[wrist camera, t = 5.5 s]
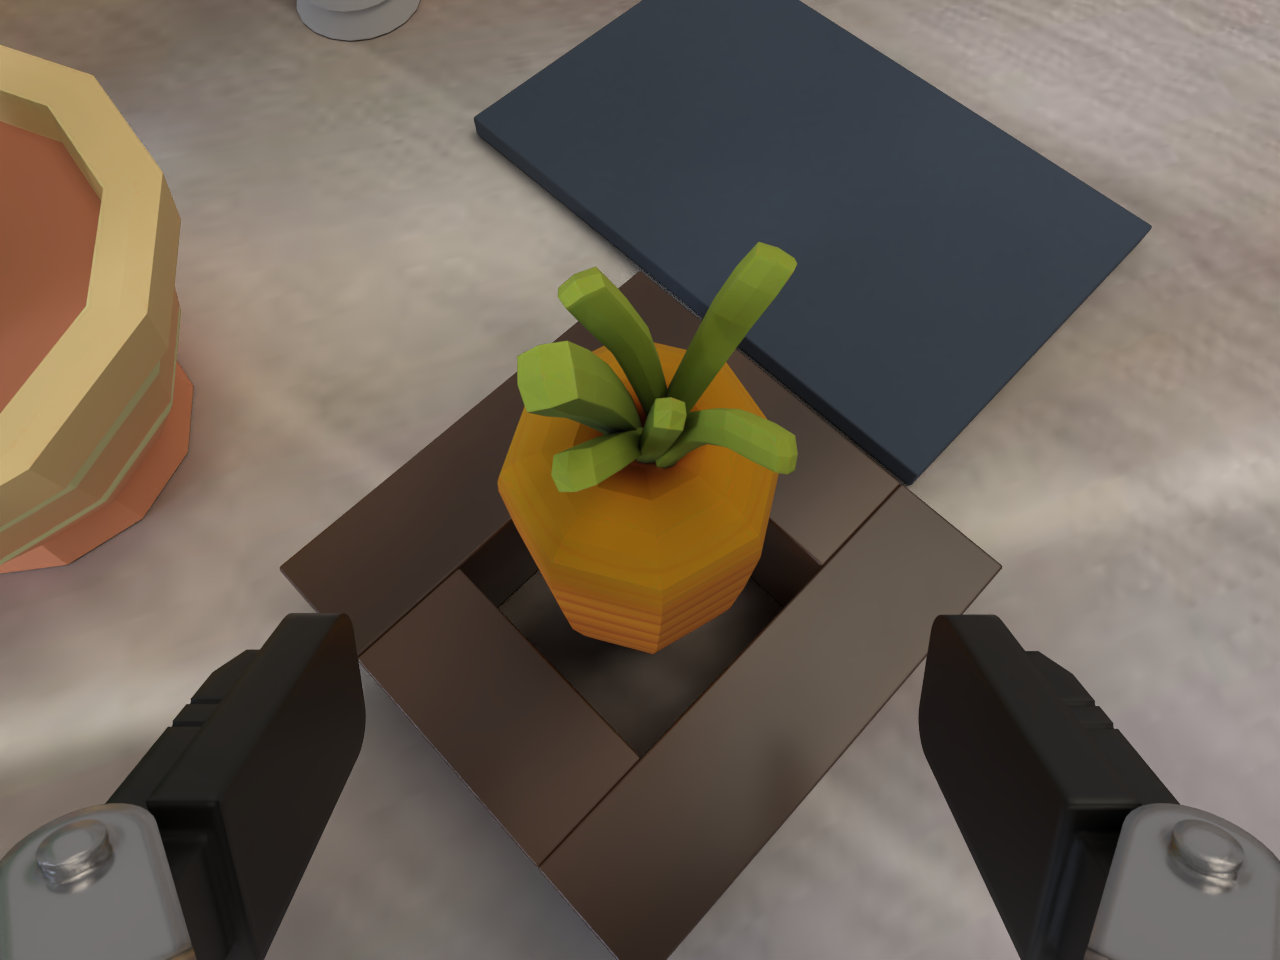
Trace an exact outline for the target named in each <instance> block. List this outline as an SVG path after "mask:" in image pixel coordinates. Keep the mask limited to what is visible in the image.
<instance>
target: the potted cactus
mask: <svg viewBox="0 0 1280 960" xmlns="http://www.w3.org/2000/svg"><path fill="white" fill-rule="evenodd" d="M180 223H181V219H180V216H179V213H178V211H177V208H176V206H175V203H174V200H173V198H172V195H171V193H170V190H169V187H168V185H167V182H166V180H165V177H164V174H163V172H162V171H161V169H160V168H159V167H158V165H157V164H156V162H155V161H154V160H153V158H152V157H151V155H150V154H149V153H148V151H147V150H146V148H145V147H144V146H143V144H142V143H141V141H140V140H139V139H138V137H137V136H136V134H135V133H134V132H133V130H132V129H131V127H130V126H129V125H128V123H127V122H126V121H125V119H124V118H123V116H122V115H121V114H120V112H119V111H118V109H117V108H116V107H115V105H114V104H113V102H112V101H111V100H110V98H109V97H108V95H107V94H106V93H105V91H104V90H103V88H102V87H101V86H100V84H99V83H98V81H97V80H96V79H95V77H94V76H93V75H90V74H87V73H84V72H81V71H78V70H75V69H72V68H69V67H66V66H63V65H60V64H57V63H54V62H51V61H48V60H45V59H42V58H39V57H36V56H33V55H29V54H26V53H23V52H20V51H17V50H14V49H11V48H8V47H5V46H2V45H0V574H1V573H9V572H16V571H24V570H32V569H40V568H47V567H55V566H63V565H68V564H70V563H71V562H73V561H74V560H76V559H78V558H79V557H81V556H83V555H84V554H86V553H87V552H89V551H91V550H92V549H94V548H96V547H97V546H99V545H100V544H102V543H104V542H105V541H107V540H108V539H110V538H112V537H113V536H115V535H117V534H118V533H120V532H121V531H123V530H125V529H126V528H128V527H129V526H131V525H133V524H134V523H136V522H138V521H139V520H141V519H142V518H143V517H144V516H145V514H146V513H147V511H148V510H149V508H150V507H151V506H152V504H153V503H154V501H155V500H156V498H157V497H158V495H159V494H160V492H161V491H162V489H163V488H164V486H165V485H166V484H167V482H168V481H169V479H170V478H171V476H172V475H173V473H174V472H175V470H176V469H177V467H178V466H179V465H180V463H181V462H182V460H183V459H184V457H185V456H186V454H187V453H188V447H189V434H190V422H191V410H192V398H193V384H192V383H191V381H190V380H189V378H188V377H187V375H186V374H185V372H184V371H183V369H182V368H181V366H180V364H179V363H178V361H177V360H176V359H177V348H178V338H179V327H180V316H181V310H180V306H179V302H178V298H177V294H176V290H175V275H176V264H177V254H178V244H179V233H180Z"/></svg>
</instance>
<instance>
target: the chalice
mask: <svg viewBox="0 0 1280 960" xmlns="http://www.w3.org/2000/svg"><path fill="white" fill-rule="evenodd" d="M419 2H420V0H297V11H298V13H299V15H300V17H301V20H302V22H303V23H305V24H306V25H307V26H308V27H309V28H310V29H312V30H313V31H314V32H316V33H318V34H321V35H324V36H326V37H329V38H331V39H340V40H349V41H352V40H361V39H370V38H374V37H377V36H379V35H382V34H385V33H388V32H391V31H392V30H394V29H395V28H397V27H398V26H400V25H402V24H403V23H405V22H406V21H407V20H408V19H409V18H410V16H411V15H412V14H413V13H414V12H415V11H416V10H417V7H418V5H419Z"/></svg>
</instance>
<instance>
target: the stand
mask: <svg viewBox="0 0 1280 960" xmlns="http://www.w3.org/2000/svg"><path fill="white" fill-rule="evenodd" d="M618 289H619V290H620V292H621V293H622V294H623V295H624V296H625V297H626V298H627V300H628V301H629V302H630V304H631V305H632V306H633V308H634V309H635V310H636V312H637V313H638V314H639V316H640V317H641V318H642V320H643V321H644V322H645V324H646V325H647V326H648V328H649V331H650V334H651V336H652V339H653V342H654V343H658V344H663V345H667V346H672V347H676V348H680V349H685V350H687V349H688V347H689V345H690V343H691V341H692V339H693V338H694V336H695V334H696V332H697V330H698V328H699V326H700V324H701V322H702V321H701V320H700V319H698V318H697V317H696V316H695V315H694V314H692V313H691V312H690V311H689V310H687V309H686V308H685V307H684V306H683V305H681V304H680V303H679V302H678V301H676V300H675V299H674V298H673V297H672V296H670V295H669V294H668V293H667V292H665V291H664V290H663V289H662V288H660V287H659V286H658V285H657V284H656V283H654V282H653V281H652V280H651V279H649V278H648V277H647V276H646V275H645V274H643V273H642V272H638V273H637V274H635V275H634V276H633V277H632V278H631V279H629V280H628V281H627V282H626V283H624V284H623V285H622V286H621V287H620V288H618ZM562 341H569V342H572V343H574V344H576V345H579V346H581V347H583V348H586V349H588V350H590V351H591V352H592V351H594V350H596V349H598V348H600V347H603V346H604V345H603V344H602V343H601V342H600V341H599V340H598V339H596V338H595V337H594V336H593V335H592V334H591V333H590V332H589V331H588V330H587V329H586V328H585V327H584V326H583V325H582V324H581V323H580V322H579V321H578V322H577V323H576V324H575V325H573V326H572V327H571V328H570V329H569V330H567V331H566V332H565V333H564V334H562V335H561V336H560V337H559V338H558V339H556V340H555V341H554V342H553V343H556V342H562ZM726 363H727V364H728V365H729V367H730V368H731V370H732V371H733V372H734V374H735V375H736V376H737V378H738V379H739V381H740V382H741V383H742V385H743V386H744V388H745V389H746V390H747V392H748V393H749V395H750V396H751V397H752V399H753V400H754V402H755V403H756V404H757V406H758V407H759V409H760V410H761V411H762V413H763V414H764V415H765V417H766V418H767V420H769V421H771V422H774V423H776V424H778V425H779V426H781V427H783V428H784V429H786V430H787V431H789V432H791V433H792V434H794V435H795V438H796V445H797V452H798V455H797V461H796V467H795V471H793V472H791V473H789V474H781V473H779V475H778V480H777V484H776V489H775V493H774V498H773V502H772V507H771V512H770V516H769V521H768V525H767V530H766V534H765V539H764V543H763V548H762V553H761V557H760V559H759V561H758V563H757V565H756V566H755V568H754V570H753V572H752V574H751V576H750V577H751V578H752V579H754V580H755V581H756V582H757V583H758V584H759V585H760V586H761V587H762V588H763V589H765V590H766V591H767V592H768V593H769V594H770V595H771V596H772V597H773V598H774V599H775V600H777V601H778V602H779V603H780V604H781V605H782V606H783V607H784V608H783V609H782V610H781V611H780V612H779V613H778V614H777V615H776V616H775V617H774V618H773V619H772V621H771V622H770V623H769V624H768V625H767V626H766V627H765V628H764V629H763V630H762V631H761V632H760V633H759V634H758V635H757V636H756V637H755V638H754V640H753V641H752V642H751V643H750V644H749V645H748V646H747V647H746V648H745V649H744V650H743V651H742V652H741V653H740V654H739V655H738V656H737V658H736V659H735V660H734V661H733V662H732V663H731V664H730V665H729V666H728V667H727V668H726V669H725V670H724V671H723V672H722V673H721V674H720V675H719V677H718V678H717V679H716V680H715V681H714V682H713V683H712V684H711V685H710V686H709V687H708V688H707V689H706V690H705V691H704V692H703V693H702V694H701V696H700V697H699V698H698V699H697V700H696V701H695V702H694V703H693V704H692V705H691V706H690V707H689V708H688V709H687V710H686V711H685V712H684V714H683V715H682V716H681V717H680V718H679V719H678V720H677V721H676V722H675V723H674V724H673V725H672V726H671V727H670V728H669V729H668V730H667V731H666V733H665V734H664V735H663V736H662V737H661V738H660V739H659V740H658V741H657V742H656V743H655V744H654V745H653V746H652V747H651V748H650V749H649V750H648V752H647V753H646V754H645V755H644V756H643V757H642V758H641V759H640V756H639V755H638V754H637V753H636V752H635V751H634V750H633V749H632V748H631V747H630V746H629V745H628V744H627V743H626V742H625V741H624V740H623V739H622V738H621V736H620V735H619V734H618V733H617V732H616V731H615V730H614V729H613V728H612V727H611V726H610V725H609V724H608V723H607V722H606V721H605V720H604V719H603V718H602V717H601V716H600V714H599V713H598V712H597V711H596V710H595V709H594V708H593V707H592V706H591V705H590V704H589V703H588V702H587V701H586V700H585V699H584V698H583V697H582V696H581V695H580V694H579V693H578V691H577V690H576V689H575V688H574V687H573V686H572V685H571V684H570V683H569V682H568V681H567V680H566V679H565V678H564V677H563V676H562V675H561V674H560V673H559V672H558V671H557V669H556V668H555V667H554V666H553V665H552V664H551V663H550V662H549V661H548V660H547V659H546V658H545V657H544V656H543V655H542V654H541V653H540V652H539V651H538V650H537V649H536V648H535V646H534V645H533V644H532V643H531V642H530V641H529V640H528V639H527V638H526V637H525V636H524V635H523V634H522V633H521V632H520V631H519V630H518V629H517V628H516V627H515V626H514V624H513V623H512V622H511V621H510V620H509V619H508V618H507V617H506V616H505V615H504V614H503V613H502V612H501V611H500V610H499V609H498V608H497V607H498V606H499V605H500V604H501V603H503V602H504V601H505V600H506V599H507V598H508V597H509V596H510V595H511V594H512V593H513V592H515V591H516V590H517V589H518V588H519V587H520V586H521V585H522V584H523V583H524V582H525V581H526V580H528V579H529V578H530V577H531V576H532V575H533V574H534V573H535V572H536V571H537V570H538V569H539V568H538V566H537V565H536V563H535V561H534V559H533V557H532V556H531V554H530V552H529V550H528V548H527V547H526V545H525V543H524V541H523V539H522V537H521V536H520V534H519V532H518V530H517V528H516V526H515V524H514V522H513V520H512V518H511V516H510V514H509V512H508V510H507V508H506V505H505V503H504V501H503V499H502V497H501V495H500V493H499V490H498V483H497V482H498V479H499V476H500V473H501V470H502V467H503V464H504V461H505V459H506V456H507V453H508V450H509V448H510V445H511V442H512V440H513V437H514V434H515V431H516V429H517V426H518V423H519V420H520V418H521V415H522V412H523V409H524V407H525V405H524V402H523V399H522V396H521V393H520V390H519V387H518V381H517V372H516V373H515V374H514V375H513V376H511V377H510V378H509V379H508V380H507V381H505V382H504V383H503V384H502V385H500V386H499V387H498V388H497V389H496V390H494V391H493V392H492V393H491V394H490V395H488V396H487V397H486V398H485V399H483V400H482V401H481V402H480V403H479V404H477V405H476V406H475V407H474V408H473V409H471V410H470V411H469V412H468V413H466V414H465V415H464V416H463V417H462V418H460V419H459V420H458V421H457V422H455V423H454V424H453V425H452V426H451V427H449V428H448V429H447V430H446V431H445V432H443V433H442V434H441V435H440V436H438V437H437V438H436V439H435V440H434V441H432V442H431V443H430V444H429V445H428V446H426V447H425V448H424V449H423V450H421V451H420V452H419V453H418V454H417V455H415V456H414V457H413V458H412V459H410V460H409V461H408V462H407V463H406V464H404V465H403V466H402V467H401V468H400V469H398V470H397V471H396V472H395V473H393V474H392V475H391V476H390V477H389V478H387V479H386V480H385V481H384V482H383V483H381V484H380V485H379V486H378V487H376V488H375V489H374V490H373V491H372V492H370V493H369V494H368V495H367V496H366V497H364V498H363V499H362V500H361V501H359V502H358V503H357V504H356V505H355V506H353V507H352V508H351V509H350V510H348V511H347V512H346V513H345V514H344V515H342V516H341V517H340V518H339V519H338V520H336V521H335V522H334V523H333V524H331V525H330V526H329V527H328V528H327V529H325V530H324V531H323V532H322V533H321V534H319V535H318V536H317V537H316V538H314V539H313V540H312V541H311V542H310V543H308V544H307V545H306V546H305V547H304V548H302V549H301V550H300V551H299V552H297V553H296V554H295V555H294V556H293V557H291V558H290V559H289V560H288V561H286V562H285V563H284V564H283V565H282V566H281V567H280V571H281V572H282V573H283V574H284V576H285V577H286V578H287V579H288V580H289V581H290V583H291V584H292V585H293V586H294V587H295V588H296V589H297V591H298V592H299V593H300V594H301V595H302V596H303V598H304V599H305V600H306V601H307V602H308V603H309V604H310V606H311V607H312V608H313V609H314V610H315V611H316V613H345V614H347V615H348V616H349V617H350V619H351V622H352V625H353V629H354V636H355V642H356V649H357V656H358V661H359V662H360V664H361V665H362V666H363V667H364V668H365V669H366V671H367V672H368V673H369V674H370V675H371V676H372V677H373V679H374V680H375V681H376V682H377V683H378V684H379V686H380V687H381V688H382V689H383V690H384V691H385V692H386V694H387V695H388V696H389V697H390V698H391V699H392V701H393V702H394V703H395V704H396V705H397V706H398V707H399V709H400V710H401V711H402V712H403V713H404V714H405V716H406V717H407V718H408V719H409V720H410V721H411V723H412V724H413V725H414V726H415V727H416V728H417V729H418V731H419V732H420V733H421V734H422V735H423V736H424V738H425V739H426V740H427V741H428V742H429V743H430V744H431V746H432V747H433V748H434V749H435V750H436V751H437V753H438V754H439V755H440V756H441V757H442V758H443V759H444V761H445V762H446V763H447V764H448V765H449V766H450V768H451V769H452V770H453V771H454V772H455V773H456V775H457V776H458V777H459V778H460V779H461V780H462V781H463V783H464V784H465V785H466V786H467V787H468V788H469V790H470V791H471V792H472V793H473V794H474V795H475V796H476V798H477V799H478V800H479V801H480V802H481V803H482V805H483V806H484V807H485V808H486V809H487V810H488V811H489V813H490V814H491V815H492V816H493V817H494V818H495V820H496V821H497V822H498V823H499V824H500V825H501V826H502V828H503V829H504V830H505V831H506V832H507V833H508V835H509V836H510V837H511V838H512V839H513V840H514V842H515V843H516V844H517V845H518V846H519V847H520V848H521V850H522V851H523V852H524V853H525V854H526V855H527V857H528V858H529V859H530V860H531V861H532V862H533V863H534V865H535V866H537V867H538V866H539V870H540V872H541V873H542V874H543V875H544V876H545V877H546V878H547V880H548V881H549V882H550V883H551V884H552V885H553V887H554V888H555V889H556V890H557V891H558V892H559V893H560V895H561V896H562V897H563V898H564V899H565V900H566V902H567V903H568V904H569V905H570V906H571V907H572V908H573V910H574V911H575V912H576V913H577V914H578V915H579V917H580V918H581V919H582V920H583V921H584V922H585V924H586V925H587V926H588V927H589V928H590V929H591V930H592V932H593V933H594V934H595V935H596V936H597V937H598V939H599V940H600V941H601V942H602V943H603V944H604V945H605V947H606V948H607V949H608V950H609V951H610V952H611V954H612V955H613V956H614V957H615V958H616V959H617V960H667V959H668V957H669V956H670V955H671V954H672V953H673V952H674V950H675V949H676V948H677V947H678V946H679V945H680V943H681V942H682V941H683V940H684V939H685V938H686V936H687V935H688V934H689V933H690V932H691V931H692V929H693V928H694V927H695V926H696V925H697V924H698V922H699V921H700V920H701V919H702V918H703V917H704V915H705V914H706V913H707V912H708V911H709V910H710V908H711V907H712V906H713V905H714V904H715V903H716V901H717V900H718V899H719V898H720V897H721V896H722V894H723V893H724V892H725V891H726V890H727V889H728V887H729V886H730V885H731V884H732V883H733V882H734V880H735V879H736V878H737V877H738V876H739V875H740V873H741V872H742V871H743V870H744V869H745V868H746V866H747V865H748V864H749V863H750V862H751V861H752V859H753V858H754V857H755V856H756V855H757V854H758V852H759V851H760V850H761V849H762V848H763V847H764V845H765V844H766V843H767V842H768V841H769V840H770V838H771V837H772V836H773V835H774V834H775V833H776V831H777V830H778V829H779V828H780V827H781V826H782V824H783V823H784V822H785V821H786V820H787V819H788V817H789V816H790V815H791V814H792V813H793V812H794V810H795V809H796V808H797V807H798V806H799V805H800V803H801V802H802V801H803V800H804V799H805V798H806V796H807V795H808V794H809V793H810V792H811V791H812V789H813V788H814V787H815V786H816V785H817V784H818V782H819V781H820V780H821V779H822V778H823V777H824V775H825V774H826V773H827V772H828V771H829V770H830V768H831V767H832V766H833V765H834V764H835V763H836V761H837V760H838V759H839V758H840V757H841V756H842V754H843V753H844V752H845V751H846V750H847V749H848V747H849V746H850V745H851V744H852V743H853V741H854V740H855V739H856V738H857V737H858V736H859V734H860V733H861V732H862V731H863V730H864V729H865V727H866V726H867V725H868V724H869V723H870V722H871V720H872V719H873V718H874V717H875V716H876V715H877V713H878V712H879V711H880V710H881V709H882V708H883V706H884V705H885V704H886V703H887V702H888V701H889V699H890V698H891V697H892V696H893V695H894V694H895V692H896V691H897V690H898V689H899V688H900V687H901V685H902V684H903V683H904V682H905V681H906V680H907V678H908V677H909V676H910V675H911V674H912V673H913V671H914V670H915V669H916V668H917V667H918V666H919V664H920V663H921V662H922V661H923V660H924V659H925V657H926V656H927V653H928V646H929V639H930V633H931V628H932V624H933V622H934V620H935V618H936V617H937V616H938V615H962V614H963V613H964V612H965V611H966V610H967V608H968V607H969V606H970V605H971V604H972V603H973V601H974V600H975V599H976V598H977V597H978V596H979V594H980V593H981V592H982V591H983V590H984V589H985V587H986V586H987V585H988V584H989V583H990V582H991V580H992V579H993V578H994V577H995V576H996V575H997V573H998V572H999V571H1000V570H1001V569H1002V565H1001V564H999V563H998V562H997V561H996V560H994V559H993V558H992V557H991V556H990V555H988V554H987V553H986V552H985V551H983V550H982V549H981V548H980V547H978V546H977V545H976V544H975V543H974V542H972V541H971V540H970V539H969V538H967V537H966V536H965V535H964V534H963V533H961V532H960V531H959V530H958V529H956V528H955V527H954V526H953V525H952V524H950V523H949V522H948V521H947V520H945V519H944V518H943V517H942V516H940V515H939V514H938V513H937V512H936V511H934V510H933V509H932V508H931V507H929V506H928V505H927V504H926V503H925V502H923V501H922V500H921V499H920V498H918V497H917V496H916V495H915V494H914V493H912V492H911V491H910V490H909V489H907V488H906V487H905V486H904V485H902V484H901V485H900V482H899V481H897V480H896V479H895V478H894V477H893V476H891V475H890V474H889V473H888V472H886V471H885V470H884V469H883V468H882V467H880V466H879V465H878V464H877V463H875V462H874V461H873V460H872V459H871V458H869V457H868V456H867V455H866V454H864V453H863V452H862V451H861V450H859V449H858V448H857V447H856V446H855V445H853V444H852V443H851V442H850V441H848V440H847V439H846V438H845V437H844V436H842V435H841V434H840V433H839V432H837V431H836V430H835V429H834V428H833V427H831V426H830V425H829V424H828V423H826V422H825V421H824V420H823V419H821V418H820V417H819V416H818V415H817V414H815V413H814V412H813V411H812V410H810V409H809V408H808V407H807V406H806V405H804V404H803V403H802V402H801V401H799V400H798V399H797V398H796V397H795V396H793V395H792V394H791V393H790V392H788V391H787V390H786V389H785V388H783V387H782V386H781V385H780V384H779V383H777V382H776V381H775V380H774V379H772V378H771V377H770V376H769V375H768V374H766V373H765V372H764V371H763V370H761V369H760V368H759V367H758V366H757V365H755V364H754V363H753V362H752V361H750V360H749V359H748V358H747V357H745V356H744V355H743V354H742V353H741V352H739V351H738V350H737V349H735V350H734V352H733V353H732V355H731V356H730V357H729V359H728V360H727V361H726Z"/></svg>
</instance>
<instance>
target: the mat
mask: <svg viewBox="0 0 1280 960" xmlns="http://www.w3.org/2000/svg"><path fill="white" fill-rule="evenodd" d="M474 122H475V126H476V130H477V134H478V135H479V136H480V137H482V138H483V139H484V140H485V141H487V142H488V143H489V144H490V145H492V146H493V147H494V148H495V149H496V150H498V151H499V152H500V153H501V154H503V155H504V156H505V157H506V158H508V159H509V160H510V161H511V162H512V163H514V164H515V165H516V166H517V167H519V168H520V169H521V170H522V171H523V172H525V173H526V174H527V175H528V176H530V177H531V178H532V179H533V180H535V181H536V182H537V183H538V184H539V185H541V186H542V187H543V188H544V189H546V190H547V191H548V192H549V193H551V194H552V195H553V196H554V197H555V198H557V199H558V200H559V201H560V202H562V203H563V204H564V205H565V206H566V207H568V208H569V209H570V210H571V211H573V212H574V213H575V214H576V215H578V216H579V217H580V218H581V219H582V220H584V221H585V222H586V223H587V224H589V225H590V226H591V227H592V228H594V229H595V230H596V231H597V232H598V233H600V234H601V235H602V236H603V237H605V238H606V239H607V240H608V241H609V242H611V243H612V244H613V245H614V246H616V247H617V248H618V249H619V250H621V251H622V252H623V253H624V254H625V255H627V256H628V257H629V258H630V259H632V260H633V261H634V262H635V263H637V264H638V265H639V266H640V267H641V268H643V269H644V270H645V271H646V272H648V273H649V274H650V275H651V276H652V277H654V278H655V279H656V280H657V281H659V282H660V283H661V284H662V285H664V286H665V287H666V288H667V289H668V290H670V291H671V292H672V293H673V294H675V295H676V296H677V297H678V298H680V299H681V300H682V301H683V302H684V303H686V304H687V305H688V306H689V307H691V308H692V309H693V310H694V311H695V312H697V313H698V314H699V315H700V316H702V317H703V318H704V317H705V315H706V313H707V311H708V309H709V307H710V305H711V303H712V301H713V300H714V298H715V297H716V295H717V294H718V292H719V291H720V289H721V288H722V286H723V285H724V283H725V282H726V281H727V279H728V278H729V276H730V275H731V273H732V272H733V270H734V269H735V268H736V266H737V265H738V264H739V263H740V262H741V260H742V259H743V258H744V257H745V256H746V255H747V254H748V253H749V252H750V251H751V250H752V248H753V247H754V246H755V245H756V244H757V243H758V242H761V243H765V244H768V245H772V246H775V247H778V248H780V249H781V250H783V251H784V252H786V253H787V254H789V255H790V256H792V257H794V258H795V260H796V262H797V266H796V268H795V270H794V272H793V273H792V275H791V276H790V278H789V279H788V281H787V282H786V283H785V285H784V286H783V288H782V289H781V290H780V292H779V293H778V295H777V296H776V297H775V299H774V300H773V301H772V302H771V304H770V305H769V306H768V307H767V309H766V310H765V311H764V312H763V314H762V315H761V316H760V317H759V319H758V320H757V321H756V322H755V324H754V325H753V326H752V327H751V329H750V330H749V331H748V333H747V334H746V335H745V337H744V338H743V340H742V341H741V342H740V344H739V345H738V347H740V348H741V349H742V350H743V351H745V352H746V353H747V354H748V355H750V356H751V357H752V358H753V359H754V360H756V361H757V362H758V363H759V364H761V365H762V366H763V367H764V368H766V369H767V370H768V371H769V372H770V373H772V374H773V375H774V376H775V377H777V378H778V379H779V380H780V381H781V382H783V383H784V384H785V385H786V386H788V387H789V388H790V389H791V390H793V391H794V392H795V393H796V394H797V395H799V396H800V397H801V398H802V399H804V400H805V401H806V402H807V403H809V404H810V405H811V406H812V407H813V408H815V409H816V410H817V411H818V412H820V413H821V414H822V415H823V416H824V417H826V418H827V419H828V420H829V421H831V422H832V423H833V424H834V425H836V426H837V427H838V428H839V429H840V430H842V431H843V432H844V433H845V434H847V435H848V436H849V437H850V438H852V439H853V440H854V441H855V442H856V443H858V444H859V445H860V446H861V447H863V448H864V449H865V450H866V451H867V452H869V453H870V454H871V455H872V456H874V457H875V458H876V459H877V460H879V461H880V462H881V463H882V464H883V465H885V466H886V467H887V468H888V469H890V470H891V471H892V472H893V473H895V474H896V475H897V476H898V477H899V478H901V479H902V480H903V481H904V482H906V483H907V484H908V485H912V484H913V483H914V482H915V481H916V479H917V478H918V477H919V476H920V475H921V474H922V473H923V472H924V471H925V470H926V469H927V468H928V467H929V466H930V465H931V464H932V462H933V461H934V460H935V459H936V458H937V457H938V456H939V455H940V454H941V453H942V452H943V451H944V450H945V449H946V448H947V446H948V445H949V444H950V443H951V442H952V441H953V440H954V439H955V438H956V437H957V436H958V435H959V434H960V433H961V432H962V431H963V429H964V428H965V427H966V426H967V425H968V424H969V423H970V422H971V421H972V420H973V419H974V418H975V417H976V416H977V415H978V414H979V412H980V411H981V410H982V409H983V408H984V407H985V406H986V405H987V404H988V403H989V402H990V401H991V400H992V399H993V398H994V397H995V395H996V394H997V393H998V392H999V391H1000V390H1001V389H1002V388H1003V387H1004V386H1005V385H1006V384H1007V383H1008V382H1009V381H1010V380H1011V378H1012V377H1013V376H1014V375H1015V374H1016V373H1017V372H1018V371H1019V370H1020V369H1021V368H1022V367H1023V366H1024V365H1025V364H1026V363H1027V361H1028V360H1029V359H1030V358H1031V357H1032V356H1033V355H1034V354H1035V353H1036V352H1037V351H1038V350H1039V349H1040V348H1041V347H1042V345H1043V344H1044V343H1045V342H1046V341H1047V340H1048V339H1049V338H1050V337H1051V336H1052V335H1053V334H1054V333H1055V332H1056V331H1057V330H1058V328H1059V327H1060V326H1061V325H1062V324H1063V323H1064V322H1065V321H1066V320H1067V319H1068V318H1069V317H1070V316H1071V315H1072V314H1073V313H1074V311H1075V310H1076V309H1077V308H1078V307H1079V306H1080V305H1081V304H1082V303H1083V302H1084V301H1085V300H1086V299H1087V298H1088V297H1089V296H1090V294H1091V293H1092V292H1093V291H1094V290H1095V289H1096V288H1097V287H1098V286H1099V285H1100V284H1101V283H1102V282H1103V281H1104V280H1105V279H1106V277H1107V276H1108V275H1109V274H1110V273H1111V272H1112V271H1113V270H1114V269H1115V268H1116V267H1117V266H1118V265H1119V264H1120V263H1121V262H1122V260H1123V259H1124V258H1125V257H1126V256H1127V255H1128V254H1129V253H1130V252H1131V251H1132V250H1133V249H1134V248H1135V247H1136V246H1137V244H1138V243H1139V242H1140V241H1141V240H1142V239H1143V238H1144V237H1145V235H1146V234H1147V233H1148V232H1149V231H1150V229H1151V227H1152V226H1151V225H1150V224H1148V223H1146V222H1145V221H1143V220H1142V219H1140V218H1139V217H1137V216H1135V215H1134V214H1132V213H1131V212H1129V211H1128V210H1126V209H1125V208H1123V207H1121V206H1120V205H1118V204H1117V203H1115V202H1114V201H1112V200H1110V199H1109V198H1107V197H1106V196H1104V195H1103V194H1101V193H1100V192H1098V191H1096V190H1095V189H1093V188H1092V187H1090V186H1089V185H1087V184H1085V183H1084V182H1082V181H1081V180H1079V179H1078V178H1076V177H1075V176H1073V175H1071V174H1070V173H1068V172H1067V171H1065V170H1064V169H1062V168H1060V167H1059V166H1057V165H1056V164H1054V163H1053V162H1051V161H1049V160H1048V159H1046V158H1045V157H1043V156H1042V155H1040V154H1039V153H1037V152H1035V151H1034V150H1032V149H1031V148H1029V147H1028V146H1026V145H1024V144H1023V143H1021V142H1020V141H1018V140H1017V139H1015V138H1014V137H1012V136H1010V135H1009V134H1007V133H1006V132H1004V131H1003V130H1001V129H999V128H998V127H996V126H995V125H993V124H992V123H990V122H989V121H987V120H985V119H984V118H982V117H981V116H979V115H978V114H976V113H974V112H973V111H971V110H970V109H968V108H967V107H965V106H964V105H962V104H960V103H959V102H957V101H956V100H954V99H953V98H951V97H949V96H948V95H946V94H945V93H943V92H942V91H940V90H938V89H937V88H935V87H934V86H932V85H931V84H929V83H928V82H926V81H924V80H923V79H921V78H920V77H918V76H917V75H915V74H913V73H912V72H910V71H909V70H907V69H906V68H904V67H903V66H901V65H899V64H898V63H896V62H895V61H893V60H892V59H890V58H888V57H887V56H885V55H884V54H882V53H881V52H879V51H878V50H876V49H874V48H873V47H871V46H870V45H868V44H867V43H865V42H863V41H862V40H860V39H859V38H857V37H856V36H854V35H852V34H851V33H849V32H848V31H846V30H845V29H843V28H842V27H840V26H838V25H837V24H835V23H834V22H832V21H831V20H829V19H827V18H826V17H824V16H823V15H821V14H820V13H818V12H817V11H815V10H813V9H812V8H810V7H809V6H807V5H806V4H804V3H802V2H801V1H799V0H642V1H641V2H640V3H638V4H637V5H635V6H634V7H632V8H631V9H629V10H628V11H627V12H625V13H624V14H622V15H621V16H619V17H618V18H616V19H615V20H614V21H612V22H611V23H609V24H608V25H606V26H605V27H603V28H602V29H601V30H599V31H598V32H596V33H595V34H593V35H592V36H591V37H589V38H588V39H586V40H585V41H583V42H582V43H580V44H579V45H578V46H576V47H575V48H573V49H572V50H570V51H569V52H567V53H566V54H565V55H563V56H562V57H560V58H559V59H557V60H556V61H554V62H553V63H552V64H550V65H549V66H547V67H546V68H544V69H543V70H542V71H540V72H539V73H537V74H536V75H534V76H533V77H531V78H530V79H529V80H527V81H526V82H524V83H523V84H521V85H520V86H518V87H517V88H516V89H514V90H513V91H511V92H510V93H508V94H507V95H505V96H504V97H503V98H501V99H500V100H498V101H497V102H495V103H494V104H493V105H491V106H490V107H488V108H487V109H485V110H484V111H482V112H481V113H480V114H478V115H477V116H475V117H474Z"/></svg>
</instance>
